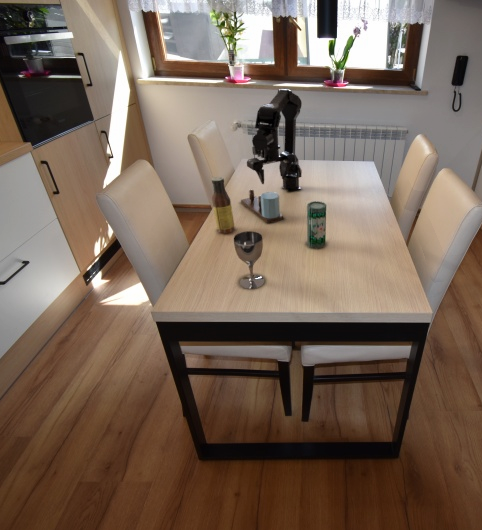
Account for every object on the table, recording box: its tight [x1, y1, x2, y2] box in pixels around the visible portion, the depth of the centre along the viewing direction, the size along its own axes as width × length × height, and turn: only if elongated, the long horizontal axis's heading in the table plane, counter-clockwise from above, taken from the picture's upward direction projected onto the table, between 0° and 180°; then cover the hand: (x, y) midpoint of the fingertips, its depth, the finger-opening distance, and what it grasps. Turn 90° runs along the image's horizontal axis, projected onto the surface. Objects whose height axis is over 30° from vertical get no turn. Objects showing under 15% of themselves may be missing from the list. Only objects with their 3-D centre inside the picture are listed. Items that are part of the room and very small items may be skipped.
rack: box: [240, 188, 284, 224], centre depth 156 cm, size 7×23×6 cm, turn 37°
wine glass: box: [233, 230, 265, 290], centre depth 112 cm, size 8×8×15 cm
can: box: [306, 200, 327, 250], centre depth 133 cm, size 6×6×15 cm
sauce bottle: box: [211, 176, 235, 234], centre depth 138 cm, size 7×6×20 cm
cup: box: [260, 191, 281, 218], centre depth 150 cm, size 7×7×8 cm
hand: (273, 181), depth 155 cm, fingers open, 9 cm apart
